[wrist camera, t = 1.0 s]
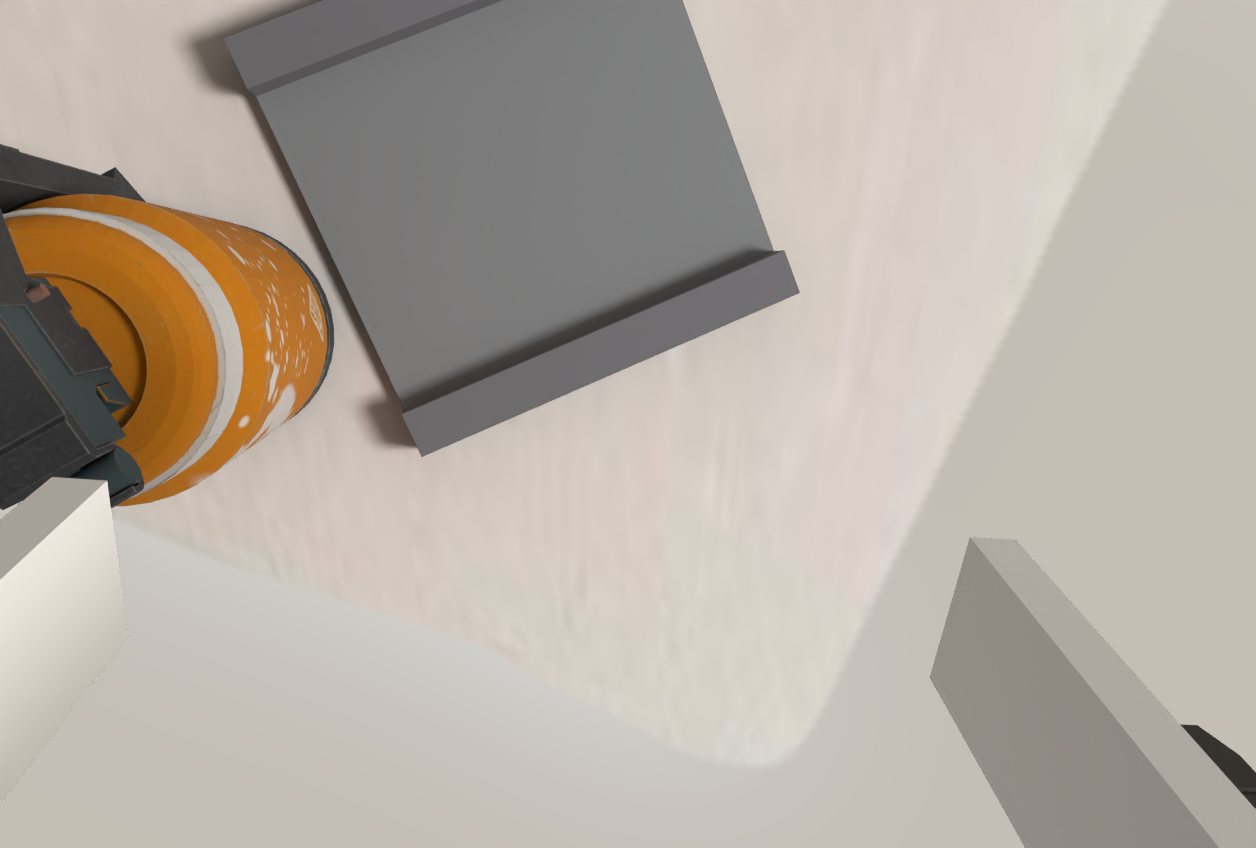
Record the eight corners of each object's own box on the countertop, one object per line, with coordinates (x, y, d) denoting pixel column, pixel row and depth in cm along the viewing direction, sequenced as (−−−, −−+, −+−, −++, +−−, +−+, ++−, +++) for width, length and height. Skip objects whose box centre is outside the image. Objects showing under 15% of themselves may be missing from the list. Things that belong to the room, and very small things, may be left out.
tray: (236, 51, 36) (223, 38, 34) (639, -104, 38) (648, -125, 36) (424, 448, 40) (421, 456, 38) (784, 292, 42) (799, 292, 40)
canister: (194, 473, 39) (-98, 667, 19) (35, 244, 36) (-483, 199, 17) (377, 369, 39) (274, 455, 20) (232, 138, 37) (-49, -26, 17)
